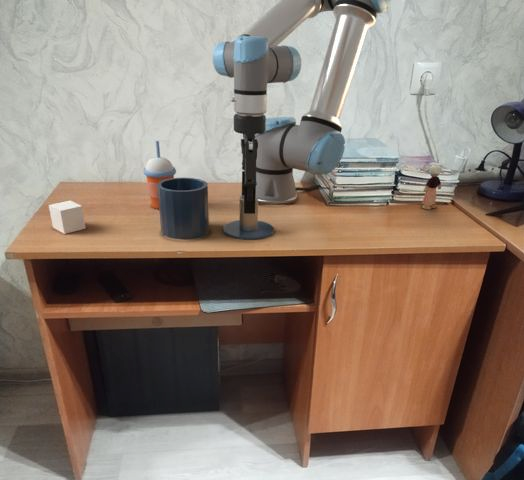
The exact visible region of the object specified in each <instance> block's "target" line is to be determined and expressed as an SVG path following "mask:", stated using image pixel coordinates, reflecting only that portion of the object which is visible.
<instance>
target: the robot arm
mask: <svg viewBox="0 0 524 480" xmlns="http://www.w3.org/2000/svg"><path fill="white" fill-rule="evenodd" d="M391 2H392V0H279V1H278V2H277V3H276V4H275V5H273V6H272V7H271V8H270V9H269V10H268V11H267V12H266V13H264V14H263V15H262V16H261V17H260V18H259V19H257V20H256V21H255V22H254V23H253V24H252V25H250V27H249V28H247V29H246V30H245V31H244V32H243V33H242V34H240V35H239V36H236V38H235V39H234V40H233V41H231V42H230V41H227V40H226V41H221V42H219V43H217V44H216V46H215V47H214V49H213V52H212V65H213V68H214V70H215V72H216V73H218V75H220V76H224V77H228V78H231V79H233V96H234V97H231V98H230V101H231V103H233V111H234V112H235V114H234V115H233V131H234V132H235V133H238V134H240V135H241V134H242V138H241V139H240V147H241V154H242V157H241V158H242V160H241V169H242V171H241V196H243V195H244V214H255V199H256V196H257V197H258V205H262V206H270V205H271V206H287V205H291V204H294V203H295V202H297V200H298V191H301V192H302V191H303V192H305V191H311V190H312V189H315V188H322V187H321V186H320V185H318V183H316V184H311V185H309V186H308V187H301V186H300V187H298V186H297V187H296V182H295V178H294V173H293V172H294V170H298V171H303V172H307V173H310V174H313V175H315V174H317V175H329V174H330V173H332V171H334V170H335V169H336V168H337V167H338V165H339V164H340V162H341V160H342V158H343V156H344V152H345V148H346V147H345V143H346V138H345V136H344V134H343V133H342V130H343V126H342V124H341V123H340V118H341V114H342V112H343V109H344V105H345V101H346V98H347V95H348V92H349V88H350V85H351V83H352V82H351V81H352V80H353V77H354V76H353V75H354V73H355V69H356V66H357V63H358V60H359V57H360V53H361V50H362V46H363V44H364V40H365V36H366V33H367V30H368V29H369V28H372V27H373V26H374V25H375V23H376V21H377V20H376V19H377V18H378V14H383V13H385V12H387V10H388V9H389V8H390V6H391ZM323 12H332V14H333V16H334V18H335V22H334V26H333V29H332V32H331V36H330V40H329V42H328V46H327V50H326V53H325V56H324V60H323V64H322V67H321V70H320V74H319V76H318V80H317V83H316V88H315V90H314V94H313V97H312V100H311V104H310V108H309V111H307V112H306V113H304V114H303V115H301V119H300V122H299V124H297V120H296V118H295V117H294V116H293V117H292V116H281V117H280V116H279V117H269V118H268V117H267V116H266V115H265V114H266V113H267V107H268V106H267V105H268V102H267V101H268V84H276V83H277V84H278V83H279V84H280V83H283V84H286V83H288V82H291V81H294V80H295V79H296V78H298V76H299V75H300V73H301V69H302V58H301V54H300V52H299V51H298V50H297V49H296V48H295V47H294V46H289V45H283V44H282V45H280V44H281V43H282V42H283V41H284V40H286V38H288V37H289V35H291V34H293V32H294V31H295V30H296V29H297V28H298V27H299V26H301V25H302V23H305V21H306V20H307V19H313V18H315V17H316V16H317V15H319V14H321V13H323Z"/></svg>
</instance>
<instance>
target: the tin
mask: <svg viewBox="0 0 524 480" xmlns="http://www.w3.org/2000/svg"><path fill="white" fill-rule="evenodd" d="M208 186H209V185H208V182H207V181H206V180H203V179H200V178H195V177H174V178H172V179H166V180H163V181H161V182H159V183H158V185H157V187H158V199H159V209H158V210H159V221H160V222H159V223H160V233H161V235H162V237H164V236H165V237H167V238H169V239H174V240H184V241H185V240H194V239H201V238H202V237H205V236H207V234H209V233H210V217H209V216H210V215H209V187H208Z"/></svg>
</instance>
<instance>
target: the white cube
mask: <svg viewBox="0 0 524 480" xmlns="http://www.w3.org/2000/svg"><path fill="white" fill-rule="evenodd" d="M48 210H49V214H50V220H51V225H52V228H53V229H54V230H56V231H58V232H60V233H62V234H64V235H66V234H70V233H74V232H77V231H81V230H85V229H87V227H86V222H85V216H84V210H83V205H81V204H79V203H77V202H75V201H73V200H66V201H61V202H57V203H52V204H48Z"/></svg>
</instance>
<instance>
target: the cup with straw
mask: <svg viewBox="0 0 524 480" xmlns="http://www.w3.org/2000/svg"><path fill="white" fill-rule="evenodd" d="M155 149H156V157H151V159H149V160H148V161H147V163H146V164H145V167H144V168H143V170H142V172H143V174H144V175H145V177H146V185H147V192H148V196H149V198H150V204H151V208H154V209H156V210H159V199H158V187H157V185H158V183H159V182H161V181H163V180H166V179H172V178H175V175H176V174H177V169H176V167H174V166H173V164H172V162H171V161H170V159H168V158H166V157H163V156H161V151H160V150H161V149H160V141H159V140H155Z"/></svg>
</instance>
